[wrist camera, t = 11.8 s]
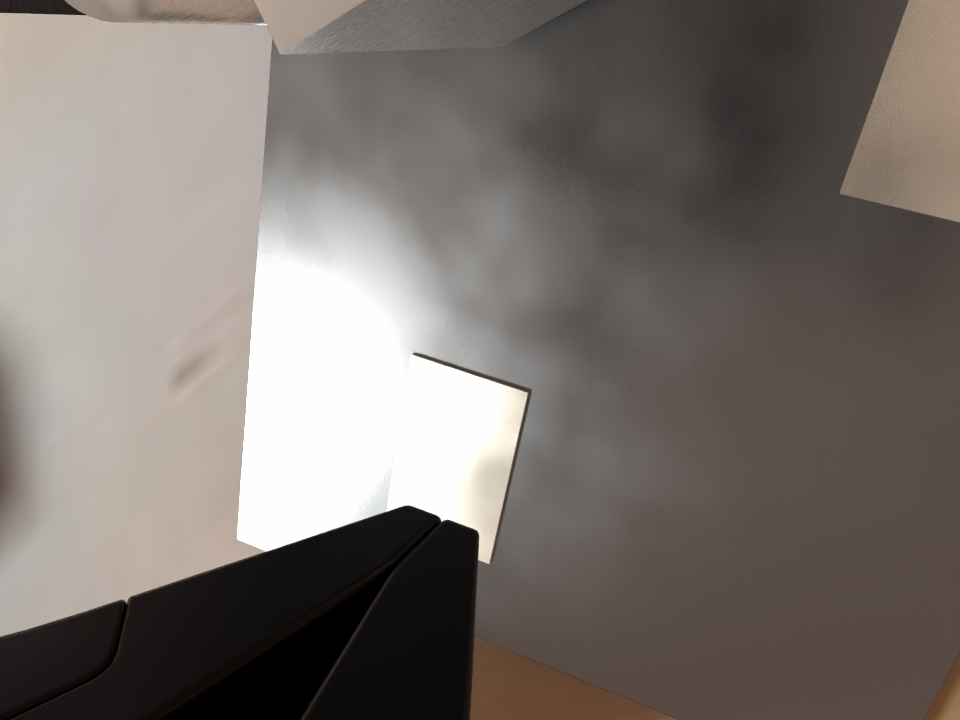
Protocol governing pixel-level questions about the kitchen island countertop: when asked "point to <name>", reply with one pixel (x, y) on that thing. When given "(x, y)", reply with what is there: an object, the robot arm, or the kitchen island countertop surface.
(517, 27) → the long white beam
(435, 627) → the robot arm
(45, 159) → the kitchen island countertop surface
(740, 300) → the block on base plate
